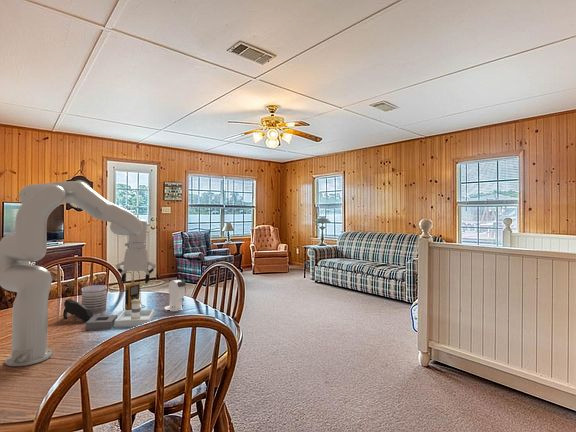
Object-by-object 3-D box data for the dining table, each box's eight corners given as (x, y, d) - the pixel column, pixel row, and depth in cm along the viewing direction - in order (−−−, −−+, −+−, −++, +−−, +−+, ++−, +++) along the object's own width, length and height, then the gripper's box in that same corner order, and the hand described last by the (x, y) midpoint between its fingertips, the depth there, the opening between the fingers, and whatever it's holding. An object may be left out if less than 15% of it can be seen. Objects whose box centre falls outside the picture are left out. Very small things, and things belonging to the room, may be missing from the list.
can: (111, 308, 176) (111, 285, 176) (97, 314, 165) (97, 290, 165) (90, 307, 177) (91, 284, 177) (75, 313, 166) (75, 289, 166)
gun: (83, 334, 154) (92, 315, 153) (57, 315, 156) (65, 296, 156) (88, 331, 157) (97, 313, 156) (62, 313, 159) (71, 295, 158)
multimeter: (134, 314, 166) (135, 274, 166) (118, 312, 170) (119, 272, 170) (155, 307, 180) (156, 269, 180) (140, 305, 183) (141, 268, 183)
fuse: (139, 320, 155) (139, 301, 155) (129, 321, 154) (130, 301, 154) (141, 318, 158) (141, 298, 158) (131, 318, 158) (132, 299, 158)
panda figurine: (191, 308, 179) (192, 280, 179) (171, 312, 171) (172, 283, 171) (180, 304, 187) (180, 277, 187) (160, 307, 179) (161, 279, 179)
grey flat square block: (111, 328, 145) (111, 321, 145) (85, 329, 143) (85, 322, 143) (117, 321, 155) (117, 314, 155) (93, 322, 153) (93, 315, 153)
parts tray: (148, 326, 150) (148, 319, 150) (114, 327, 147) (114, 320, 147) (154, 315, 165) (154, 309, 165) (123, 316, 162) (123, 310, 162)
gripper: (114, 246, 150) (112, 284, 150) (155, 246, 154) (154, 284, 154) (119, 245, 158) (117, 281, 157) (158, 245, 161) (156, 281, 161)
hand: (135, 283), depth 155 cm, fingers open, 9 cm apart
